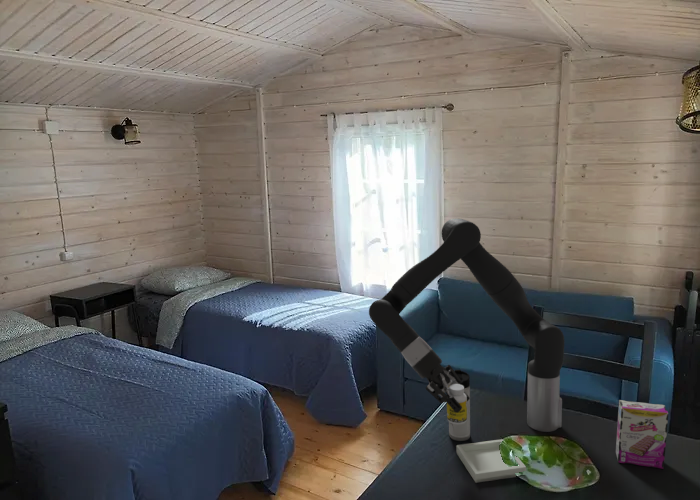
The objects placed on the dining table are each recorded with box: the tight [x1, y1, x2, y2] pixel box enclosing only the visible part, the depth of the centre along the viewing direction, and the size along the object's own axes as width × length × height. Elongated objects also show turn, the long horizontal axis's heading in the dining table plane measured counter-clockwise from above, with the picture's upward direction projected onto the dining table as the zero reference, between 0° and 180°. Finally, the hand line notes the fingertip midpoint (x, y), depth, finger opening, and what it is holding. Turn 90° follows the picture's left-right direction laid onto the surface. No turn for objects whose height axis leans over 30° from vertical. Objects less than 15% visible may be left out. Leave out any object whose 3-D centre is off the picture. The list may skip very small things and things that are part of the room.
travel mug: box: [448, 369, 471, 442], centre depth 156 cm, size 6×7×20 cm
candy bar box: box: [615, 399, 669, 470], centre depth 139 cm, size 11×5×16 cm, turn 71°
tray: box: [456, 438, 527, 484], centre depth 142 cm, size 14×14×2 cm
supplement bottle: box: [446, 384, 467, 424], centre depth 141 cm, size 5×5×10 cm
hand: (463, 405), depth 140 cm, fingers closed on supplement bottle, 5 cm apart
